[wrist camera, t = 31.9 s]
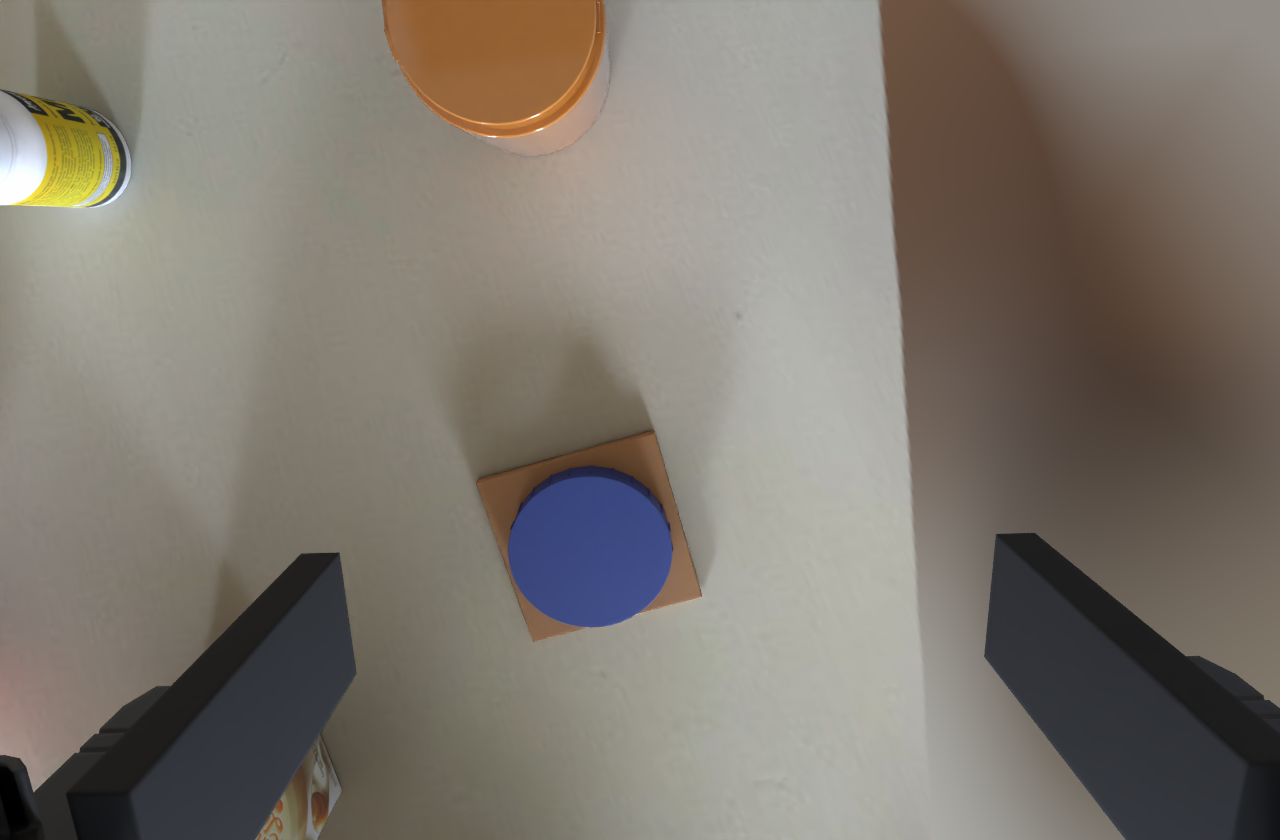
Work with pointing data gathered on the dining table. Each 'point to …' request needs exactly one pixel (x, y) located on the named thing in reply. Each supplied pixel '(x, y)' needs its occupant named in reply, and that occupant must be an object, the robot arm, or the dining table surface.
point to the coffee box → (305, 799)
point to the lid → (590, 547)
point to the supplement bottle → (59, 154)
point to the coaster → (622, 455)
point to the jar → (505, 66)
